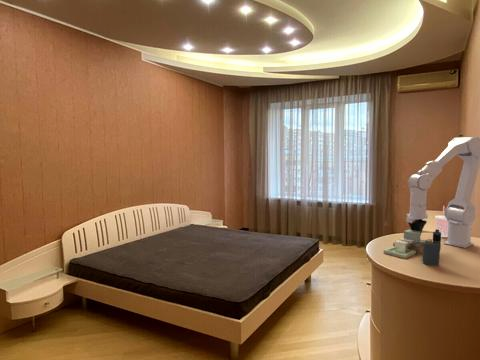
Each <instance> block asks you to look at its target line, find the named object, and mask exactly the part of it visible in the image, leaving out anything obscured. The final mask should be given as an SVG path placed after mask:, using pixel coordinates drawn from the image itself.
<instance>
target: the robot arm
mask: <svg viewBox="0 0 480 360" xmlns="http://www.w3.org/2000/svg"><path fill="white" fill-rule="evenodd" d="M455 156H458V157H459V158H460V159H461V160H462V161H463V164H462V168H461V172H460V175H459V179H458V183H457V187H456V193H455V196H454V198H453V199H451V200H449V201H448V203H447V206H446V208H444V216H445V217H446V219H447V221H448V222H449V223H448V238H447V239H446V241H444V242H443V244H444V245H450V246H454V247H459V248H463V249H465V248H468V247H470V246H472V245H473V244H474V243H473V242H471V239H472V237H471V236H472V227H471V225H472V223H474V222H475V219H476V208H477V207H476V206H475V205H474V204H473V203H472V201H471V200H472V197H473V193H474V189H475V185H476V182H477V178H478V174H479V170H480V137H479V136H476V135H475V136H467V137H463V136H462V137H459V136H458V137H453V138H452V139H451V141H449V142H448V144H447V147H446V148H445V149H444V150H443V151H442V152H441V154H439V155H438V157H437V158H436V159H435V160H430V161H427V162H425V165H424V167H422V168H421V169H420V170H418V171H417V173H414V174H412V175H411V176H410V177H409V179H408V180H407V185H408V187H409V192H410V196H409V213H406V214H405V216H406V219H405V223H407V224H408V225H409V229H410V230H415V231H420V232H421V235H422V232H423V230H424V227H425V225H427V223H428V222H427V220H426V219H428V218H429V217H428V216H429V214H428V213H427V201H428V200H427V199H428V197H427V196H428V189H430V188H431V186H432V183H433V181H434V179H435V178H437V176H439V174H441V172H442V171H443V167H444V166H445V165H446V164H447V163H449V162H450V161H451V160H452V159H453V158H455ZM421 235H420V237H421Z"/></svg>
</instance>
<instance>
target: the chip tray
mask: <svg viewBox="0 0 480 360" xmlns="http://www.w3.org/2000/svg"><path fill="white" fill-rule="evenodd" d="M394 249H395V246H393V245H392V246H391V247H388V248H386V249H383V254H385V255H388V256H393V257H396V258H401V259H408V258H410V257H412V256H414V255H417V254H416V251H415V250H410V249H408V253H406V254H403V253H399V252H395V251H394Z"/></svg>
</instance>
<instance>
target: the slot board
mask: <svg viewBox="0 0 480 360" xmlns="http://www.w3.org/2000/svg"><path fill="white" fill-rule="evenodd" d="M425 240H426V239H421V238H420V243H418V244H415V245H413V247H410V248H408V249H410V250H415V251H416V254H415V255H420V254H423V244H424V242H425ZM427 240H431V241H432V243H433V238H428V239H427ZM393 246H395V242H393V245H392V247H393Z"/></svg>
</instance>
